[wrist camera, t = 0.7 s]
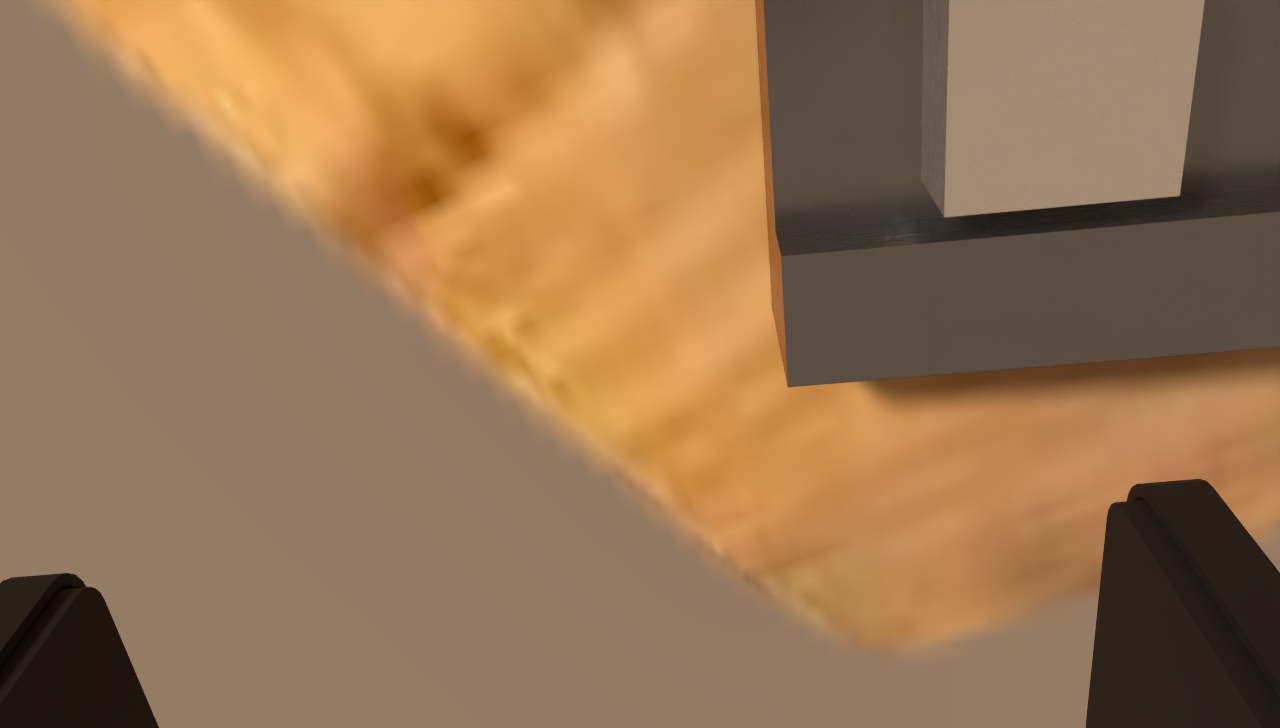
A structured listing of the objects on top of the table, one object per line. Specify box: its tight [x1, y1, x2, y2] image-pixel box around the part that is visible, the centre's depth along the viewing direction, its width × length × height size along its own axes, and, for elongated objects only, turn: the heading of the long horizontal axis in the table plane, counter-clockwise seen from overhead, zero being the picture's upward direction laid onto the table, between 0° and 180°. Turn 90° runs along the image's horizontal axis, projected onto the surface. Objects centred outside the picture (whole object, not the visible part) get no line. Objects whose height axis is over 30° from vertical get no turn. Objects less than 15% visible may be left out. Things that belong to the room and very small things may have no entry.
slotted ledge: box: [755, 0, 1280, 387], centre depth 26 cm, size 14×14×4 cm
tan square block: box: [921, 0, 1205, 217], centre depth 24 cm, size 5×5×2 cm
